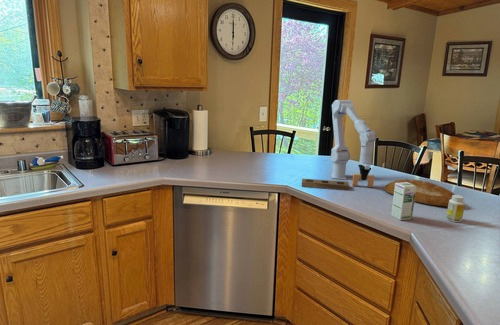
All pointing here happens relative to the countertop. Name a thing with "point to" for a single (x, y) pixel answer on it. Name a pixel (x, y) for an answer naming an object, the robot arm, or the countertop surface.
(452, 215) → the supplement bottle
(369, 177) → the tan rectangular block
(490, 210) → the countertop surface
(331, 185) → the wooden board with holes
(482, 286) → the countertop surface
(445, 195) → the bread
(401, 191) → the syrup box
